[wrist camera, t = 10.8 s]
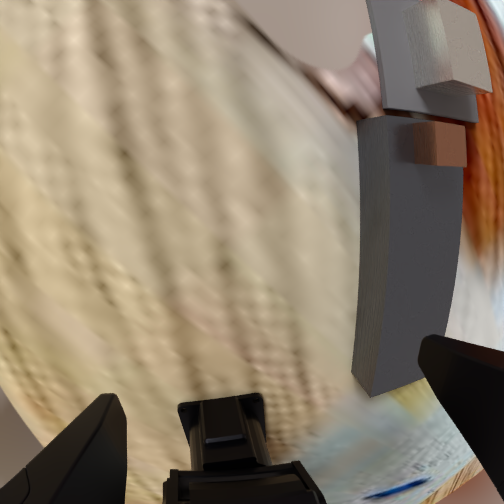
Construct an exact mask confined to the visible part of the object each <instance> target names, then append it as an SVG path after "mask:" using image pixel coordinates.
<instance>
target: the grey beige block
mask: <svg viewBox="0 0 504 504" xmlns="http://www.w3.org/2000/svg"><path fill="white" fill-rule="evenodd" d="M402 14H403V18H404V23H405V27H406V32H407V37H408V42H409V48H410V53H411V59H412V65H413V72H414V79H415V87H416V88H419V89H424V90H428V91H433V92H437V93H441V94H446V95H450V96H453V97H460V96H468V95H476V94H485V93H492V86H491V80H490V74H489V68H488V63H487V58H486V53H485V48H484V44H483V40H482V36H481V32H480V28H479V24H478V21H477V17H476V14H475V13H473V12H471V11H469V10H467V9H465V8H463V7H461V6H459V5H457V4H455V3H453V2H451V1H449V0H422V1H420V2H418V3H417V4H415V5H413V6H411V7H409V8H407V9H406V10H404V11H402Z"/></svg>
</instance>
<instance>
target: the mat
mask: <svg viewBox="0 0 504 504" xmlns="http://www.w3.org/2000/svg"><path fill="white" fill-rule="evenodd" d="M418 2H420V1H419V0H366V4H367V8H368V13H369V17H370V23H371V28H372V33H373V39H374V44H375V50H376V57H377V63H378V70H379V78H380V86H381V95H382V104H383V109H392V110H400V111H408V112H415V113H422V114H429V115H435V116H441V117H446V118H452V119H457V120H462V121H467V122H472V123H479V122H478V111H477V102H476V95H468V96H460V97H453V96H450V95H446V94H441V93H437V92H433V91H428V90H424V89H419V88H416V87H415V79H414V72H413V65H412V59H411V53H410V48H409V42H408V37H407V32H406V27H405V23H404V18H403V14H402V11H404V10H406V9H407V8H409V7H411V6H413V5H415V4H417V3H418Z"/></svg>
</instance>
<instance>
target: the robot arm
mask: <svg viewBox="0 0 504 504" xmlns="http://www.w3.org/2000/svg"><path fill="white" fill-rule="evenodd" d="M417 361H418V365H419V367H420V369H421V371H422V372H423V374H424V376H425V378H426V379H427V381H428V383H429V385H430V386H431V388H432V390H433V392H434V394H435V395H436V397H437V399H438V400H439V402H440V403H441V405H442V406H443V408H444V409H445V411H446V412H447V414H448V415H449V416H450V418H451V419H452V421H453V422H454V424H455V425H456V427H457V428H458V430H459V431H460V433H461V434H462V436H463V437H464V439H465V440H466V442H467V443H468V445H469V446H470V448H471V449H472V451H473V452H474V454H475V455H476V457H477V458H478V460H479V462H480V463H481V465H482V466H483V468H484V469H485V471H486V473H487V474H488V476H489V477H490V479H491V481H492V482H493V484H494V486H495V487H496V488H497V491H498V492H499V494H500V496H501V498H502V499H503V501H504V351H500V350H495V349H491V348H487V347H483V346H479V345H475V344H471V343H467V342H464V341H460V340H456V339H452V338H448V337H444V336H440V335H437V334H431V335H428V336H425V337H424V338H423V339H422V341H421V345H420V349H419V354H418V359H417ZM256 398H258V399H256ZM254 399H256V400H254ZM182 408H185V409H182ZM178 414H179V417H180V420H181V423H182V426H183V429H184V432H185V435H186V438H187V441H188V444H189V446H190V454H191V470H192V471H178V469H170V478H167V481H165V482H163V503H162V504H327V503H326V500H325V498H324V496H323V494H322V492H321V491H320V490H319V488H318V487H317V485H316V484H315V482H314V481H313V480H312V478H311V477H310V475H309V474H308V472H307V471H306V469H305V468H304V467H303V465H302V464H301V462H300V461H299V460H298V461H292V462H291V463H286V464H279V465H272V462H271V458H270V455H269V452H268V449H267V445H266V433H265V420H264V408H263V399H262V396H261V394H260V393H251V394H245V395H239V396H232V397H225V398H218V399H210V400H202V401H193V402H183V403H180V404H178ZM126 478H127V420H126V415H125V413H124V410H123V408H122V406H121V403H120V401H119V398H118V396H117V395H116V394H114V393H104V394H101V395H99V396H98V397H97V398H96V399H95V400H94V401H93V402H92V403H91V404H90V405H89V406H88V407H87V408H86V409H85V410H84V411H83V412H82V413H81V414H79V415H78V416H77V417H76V418H75V419H74V420H73V421H72V422H71V423H70V424H69V425H68V426H67V427H66V428H65V429H64V430H63V431H62V432H61V433H60V434H59V435H57V436H56V437H55V438H54V439H53V440H52V441H51V442H50V443H49V444H48V445H47V446H46V447H45V448H44V449H43V450H42V451H41V452H40V453H39V454H38V455H37V456H36V457H34V458H33V459H32V460H31V461H30V462H29V463H28V464H27V465H26V468H23V469H22V470H21V471H20V472H19V473H18V474H16V475H15V476H14V477H13V478H12V479H11V480H10V481H9V482H8V483H7V484H5V485H4V486H3V487H2V488H0V504H125V490H126Z"/></svg>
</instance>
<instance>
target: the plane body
mask: <svg viewBox="0 0 504 504" xmlns="http://www.w3.org/2000/svg"><path fill="white" fill-rule="evenodd" d="M357 135H358V151H359V172H360V268H359V289H358V306H357V319H356V331H355V342H354V352H353V361H352V370H351V372H352V374H353V375H354V376H355V378H356V379H357V380H358V382H359V383H360V384H361V386H362V387H363V388H364V390H365V391H366V392H367V394H368V395H369V396H370V398H371V397H374V396H377V395H380V394H382V393H385V392H388V391H391V390H394V389H396V388H399V387H402V386H404V385H407V384H410V383H412V382H415V381H417V380H420V379H422V378H424V377H425V376H424V374H423V372H422V371H421V369H420V367H419V365H418V361H417V359H418V354H419V349H420V345H421V341H422V339H423V338H424V337H425V336H428V335H431V334H437V335H440V336H445V332H446V327H447V323H448V318H449V313H450V308H451V302H452V297H453V291H454V285H455V278H456V271H457V264H458V255H459V246H460V235H461V222H462V203H463V167H467V158H466V135H465V126H461V125H456V124H450V123H444V122H438V121H430V120H423V119H415V118H407V117H398V116H388V115H385V116H380V117H374V118H369V119H364V120H359V121H357Z"/></svg>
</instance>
